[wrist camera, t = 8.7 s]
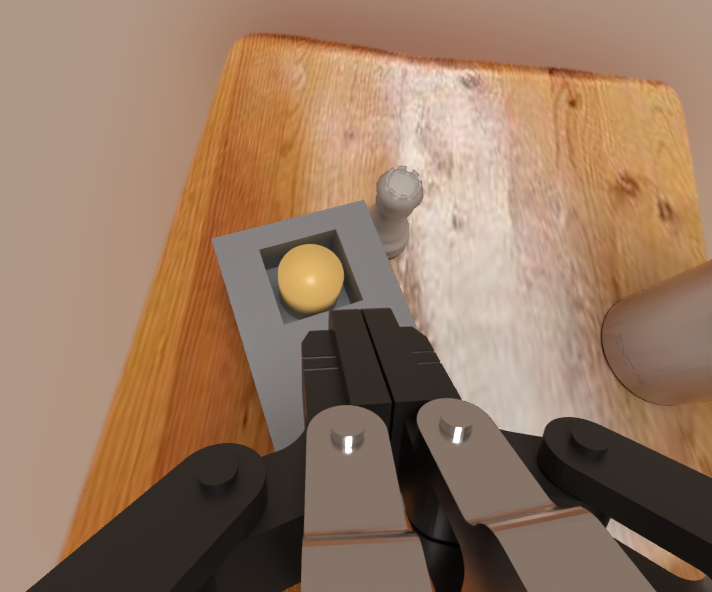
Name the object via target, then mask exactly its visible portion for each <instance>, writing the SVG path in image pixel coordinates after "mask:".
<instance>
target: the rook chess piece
mask: <svg viewBox="0 0 712 592" xmlns="http://www.w3.org/2000/svg"><path fill="white" fill-rule="evenodd" d="M406 168H407V166H399V169H398V170H396V169H394V168H392V169H390V170H389V171H387V172H386V173H384V174H383V175H382V176H380V178H379V180H378V182H377V195H376V204H375V205H373V206H370V207H369V208H368V211H369V213H370V216H371V218H372V221H373V223H374V226H375V228H376V230H377V233H378V235H379V238H380V240H381V243H382V245H383V247H384V250H385V252H386V255H387V257H388V259H389V258H392V257H395V256H397V255H398V254H399V253H401V252H402V251H403V250H404V248H405V246H406V243H407V241H408V238H409V223H408V220H407V217H408V216H409V215H410V214H411V213H412V211H413V209H415V208H416V207H417V206H418V205H419V204H420V203H421V201H422V199H423V187H422V181H419V180H418V179H417V177H418V175H419V174H418V173H417V172H416V171H415V170H413V171H412V172H411V173H410V172H408V171H406Z"/></svg>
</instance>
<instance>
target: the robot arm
mask: <svg viewBox="0 0 712 592" xmlns="http://www.w3.org/2000/svg"><path fill="white" fill-rule="evenodd" d="M602 343H603V347H604V352H605V355H606V358H607V360H608V363H609V365H610V367H611V369H612V370H613V372H614V373H615V375H616V376H617V378H618V379H619V380H620V381H621V382H622V383H623V384H624V386H625V387H626V388H628V389H629V390H630V391H631V392H633V393H634V394H635V395H637V396H639V397H641V398H642V399H644V400H646V401H649V402H652V403H655V404H659V405H676V404H685V403H694V402H703V401H712V260H710V261H707V262H705V263H703V264H701V265H698V266H696V267H694V268H692V269H689V270H687V271H685V272H683V273H680V274H678V275H676V276H674V277H671V278H669V279H667V280H665V281H662V282H660V283H657V284H655V285H653V286H651V287H649V288H646V289H644V290H642V291H640V292H637V293H635V294H633V295H631V296H628V297H626V298H624V299H622V300H620V301H619V302H617V303H616V304H615V305H614V306H613V307H612V308H611V309H610V311H609V312H608V314H607V316H606V318H605V320H604V324H603V330H602ZM301 355H302V400H303V414H304V428H305V429H304V431H303V433H302V434H301V435H300V437H299V438H298V439H297V440H296V441H294V442H293V443H292V444H290V445H289V446H287V447H286V448H284V449H282V450H279V451H277V452H274V453H271V454H269V455H266V456H263V457H260V455H259V454H258V453H257V452H256V451H254V450H252V449H251V448H249V447H246V446H244V445H240V444H233V443H222V444H216V445H212V446H208V447H205V448H203V449H201V450H198V451H197V452H195V453H193V454H191V455H190V456H189V457H187V458H186V459H185V460H184V461H182V462H181V463H180V464H179V465H177V466H176V467H175V468H174V469H173V470H171V471H170V472H169V473H168V474H167V475H165V476H164V477H163V478H162V479H161V480H159V481H158V482H157V483H156V484H155V485H153V486H152V487H151V488H150V489H149V490H147V491H146V492H145V493H144V494H143V495H141V496H140V497H139V498H138V499H137V500H135V501H134V502H133V503H132V504H131V505H129V506H128V507H127V508H126V509H125V510H123V511H122V512H121V513H120V514H119V515H117V516H116V517H115V518H114V519H113V520H111V521H110V522H109V523H108V524H107V525H105V526H104V527H103V528H102V529H101V530H99V531H98V532H97V533H96V534H95V535H93V536H92V537H91V538H90V539H89V540H87V541H86V542H85V543H84V544H82V545H81V546H80V547H79V548H78V549H76V550H75V551H74V552H73V553H72V554H70V555H69V556H68V557H67V558H66V559H64V560H63V561H62V562H61V563H60V564H58V565H57V566H56V567H55V568H54V569H52V570H51V571H50V572H49V573H48V574H46V575H45V576H44V577H43V578H42V579H40V581H38V582H37V583H36V584H35V585H33V586H32V587H31V588H30V589H28V590H27V591H26V592H282V591H284V590H286V589H288V588H289V587H291V586H293V585H295V584H297V583H299V582H301V592H712V478H710V477H708V476H706V475H704V474H702V473H700V472H698V471H695V470H693V469H691V468H689V467H687V466H685V465H683V464H681V463H679V462H677V461H674V460H672V459H670V458H668V457H666V456H664V455H662V454H660V453H658V452H656V451H653V450H651V449H649V448H647V447H645V446H643V445H641V444H639V443H637V442H635V441H632V440H630V439H628V438H626V437H624V436H622V435H620V434H618V433H616V432H614V431H611V430H609V429H607V428H605V427H603V426H601V425H599V424H596V423H594V422H591V421H588V420H585V419H580V418H574V417H563V418H558V419H554V420H553V421H551V422H549V423H548V424H547V426H546V428H545V430H544V433H543V437H539V436H533V435H527V434H521V433H515V432H509V431H505V430H501V429H498V427H497V426H496V424H495V423H494V422H493V420H492V419H491V418H490V417H489V415H488V414H487V413H486V412H484V411H483V410H482V409H480V408H479V407H477V406H475V405H473V404H471V403H469V402H466V401H463V400H462V399H461V397H460V396H459V394H458V392H457V390H456V389H455V387H454V385H453V383H452V381H451V380H450V378H449V376H448V374H447V373H446V371H445V369H444V367H443V365H442V364H441V363H440V360H439V358H438V357H437V355H436V353H434V349H433V348H432V346H431V344H430V342H429V341H428V339H427V337H426V336H425V335H423V334H422V333H420V332H419V331H418V330H416V329H415V328H414V327H412V326H407V327H400V326H399V324H398V322H397V320H396V318H395V316H394V313H393V311H392V309H391V308H365V309H340V310H329V318H328V330H316V331H309V332H308V333H307V335H306V337H305V338H304V340H303V341H302V343H301ZM400 493H401V494H402V497H403V501H404V504H405V511H404V510H403V505H402V500H401V495H400ZM610 518H612V519H614V520H615V521H617V522H619V523H621V524H622V525H624V526H626V527H627V528H629V529H631V530H632V531H634V532H636V533H638V534H639V535H641V536H643V537H644V538H646V539H648V540H650V541H651V542H653V543H655V544H656V545H658V546H660V547H661V548H663V549H665V550H667V551H668V552H670V553H672V554H673V555H675V556H677V557H679V558H680V559H682V560H684V561H685V562H687V563H689V564H690V565H692V566H694V567H696V568H697V569H699V570H700V571H702V572H703V573H705V574H706V576H705V577H704V578H703V579H701V580H697V581H690V580H686V579H682V578H680V577H678V576H676V575H674V574H672V573H670V572H669V571H667V570H666V569H664V568H662V567H661V566H659V565H657V564H656V563H654V562H652V561H651V560H649V559H648V558H646V557H644V556H643V555H641V554H639V553H638V552H636V551H634V550H633V549H631V548H629V547H628V546H626V545H625V544H623V543H621V542H620V541H618V540H616V539H615V538H613V537H612V536H611V535H610V533H609V532H608V531H607V530H606V527H607V525H608V523H609V520H610Z"/></svg>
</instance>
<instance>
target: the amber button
mask: <svg viewBox="0 0 712 592" xmlns="http://www.w3.org/2000/svg"><path fill="white" fill-rule="evenodd" d="M343 281H344V271H343V267H342V264H341V262H340V260H339V258H338V257H337V256H336V255H335V254H334V253H333V252H332V251H331V250H329V249H327V248H325V247H323V246H320V245H316V244H304V245H300V246H297V247H295V248H293V249H291V250H290V251H289V252H288V253H286V254H285V256H284V257H283V258H282V260H281V262H280V264H279V268H278V286H279V298H280V302H281V304H282V306H283V308H284V309H285V311H286V312H287V313H288V314H290V315H291V316H292V317H294V318H296V319H298V320H301V319H304V318H308V317H311V316H314V315H317V314H320V313H324V312H327V311H329V310H333V309H334V307H335V305H336V303H337V300H338V297H339V294H340V291H341V288H342V284H343Z"/></svg>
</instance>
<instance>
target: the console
mask: <svg viewBox="0 0 712 592" xmlns="http://www.w3.org/2000/svg"><path fill="white" fill-rule="evenodd" d="M212 242H213V246H214V249H215V252H216V256H217V259H218V262H219V266H220V269H221V272H222V276H223V279H224V282H225V286H226V289H227V292H228V296H229V299H230V302H231V306H232V309H233V312H234V316H235V319H236V322H237V326H238V329H239V332H240V336H241V339H242V342H243V346H244V349H245V352H246V356H247V359H248V362H249V366H250V369H251V372H252V376H253V379H254V382H255V386H256V389H257V392H258V396H259V399H260V402H261V406H262V409H263V412H264V416H265V419H266V422H267V426H268V429H269V432H270V436H271V439H272V442H273V446H274V449H275V452H277V451H279V450H282V449H284V448H286V447H287V446H289V445H290V444H292V443H293V442H294V441H296V440H297V439H298V438H299V437H300V435H301V434H302V433H303V431H304V429H305V428H304V414H303V400H302V355H301V343H302V341H303V340H304V338H305V337H306V335H307V333H308V332H309V331H316V330H328V318H329V311H327V312H324V313H320V314H317V315H314V316H311V317H308V318H304V319H301V320H298V319H296V318H294V317H292V316H291V315H290V314H288V313H287V312H286V311H285V309H284V308H283V306H282V304H281V302H280V298H279V286H278V268H279V264H280V262H281V260H282V258H283V257H284V256H285V254H286V253H288V252H289V251H290V250H291V249H293V248H295V247H297V246H300V245H304V244H316V245H320V246H323V247H325V248H327V249H329V250H331V251H332V252H333V253H334V254H335V255H336V256H337V257H338V258H339V260H340V262H341V264H342V267H343V271H344V281H343V284H342V288H341V291H340V294H339V297H338V300H337V303H336V305H335V307H334V309H333V310H340V309H365V308H391V309H392V311H393V313H394V316H395V318H396V320H397V322H398V324H399V326H400V327H407V326H412V327H414V328H415V329H416V330H417V327H416V325H415V322H414V320H413V318H412V315H411V313H410V310H409V308H408V305H407V303H406V301H405V298H404V296H403V293H402V291H401V288H400V286H399V284H398V281H397V279H396V276H395V274H394V272H393V269H392V267H391V264H390V262H389V259H388V257H387V255H386V252H385V250H384V247H383V245H382V243H381V240H380V238H379V235H378V233H377V230H376V228H375V226H374V223H373V221H372V218H371V216H370V213H369V211H368V209H367V206H366V204H365V201H364V200H362V201H358V202H354V203H350V204H346V205H342V206H338V207H335V208H331V209H327V210H323V211H319V212H315V213H311V214H307V215H303V216H299V217H295V218H291V219H287V220H283V221H279V222H275V223H271V224H267V225H264V226H260V227H256V228H252V229H248V230H244V231H240V232H236V233H232V234H228V235H224V236H220V237H216V238H212ZM400 495H401V500H402V505H403V508H404V507H405V504H404V501H403V497H402V494H401V493H400Z"/></svg>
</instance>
